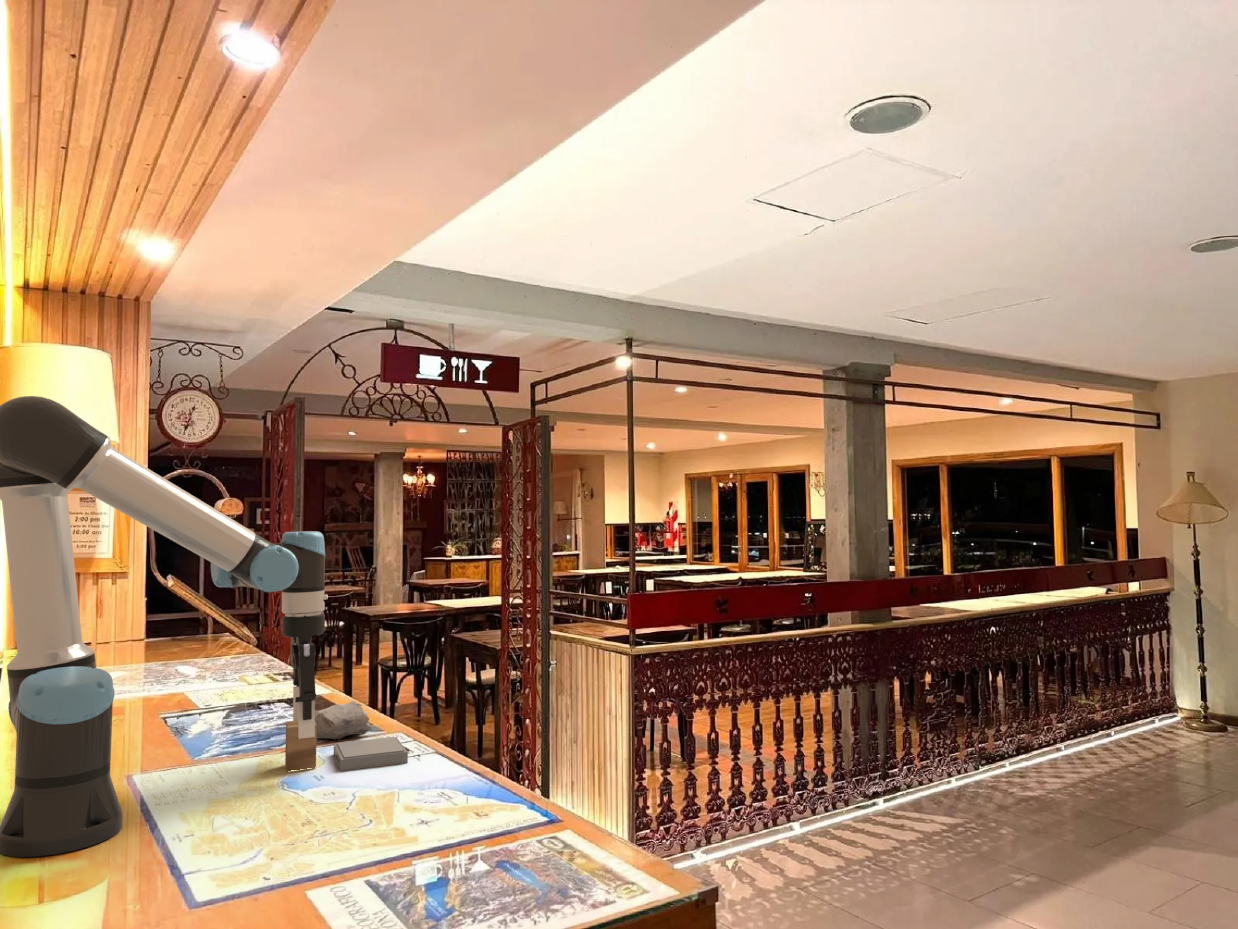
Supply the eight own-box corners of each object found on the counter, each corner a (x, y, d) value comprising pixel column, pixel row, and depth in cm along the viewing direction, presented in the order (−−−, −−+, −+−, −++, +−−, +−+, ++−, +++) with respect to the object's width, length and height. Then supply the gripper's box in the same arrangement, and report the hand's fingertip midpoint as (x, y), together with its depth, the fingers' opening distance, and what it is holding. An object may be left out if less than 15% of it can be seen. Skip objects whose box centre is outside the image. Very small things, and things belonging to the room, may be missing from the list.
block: (315, 769, 155) (316, 724, 155) (286, 772, 152) (287, 727, 153) (313, 762, 159) (314, 719, 160) (285, 765, 157) (286, 721, 157)
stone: (305, 737, 177) (306, 704, 177) (361, 729, 184) (362, 697, 184) (316, 746, 170) (317, 712, 171) (374, 737, 177) (375, 704, 178)
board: (407, 763, 158) (407, 750, 158) (340, 771, 153) (341, 758, 153) (396, 747, 169) (396, 735, 169) (333, 754, 164) (333, 742, 164)
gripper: (332, 619, 148) (332, 742, 147) (318, 605, 170) (318, 711, 169) (286, 623, 145) (286, 748, 144) (278, 608, 167) (278, 716, 166)
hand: (303, 728), depth 156 cm, fingers open, 13 cm apart
